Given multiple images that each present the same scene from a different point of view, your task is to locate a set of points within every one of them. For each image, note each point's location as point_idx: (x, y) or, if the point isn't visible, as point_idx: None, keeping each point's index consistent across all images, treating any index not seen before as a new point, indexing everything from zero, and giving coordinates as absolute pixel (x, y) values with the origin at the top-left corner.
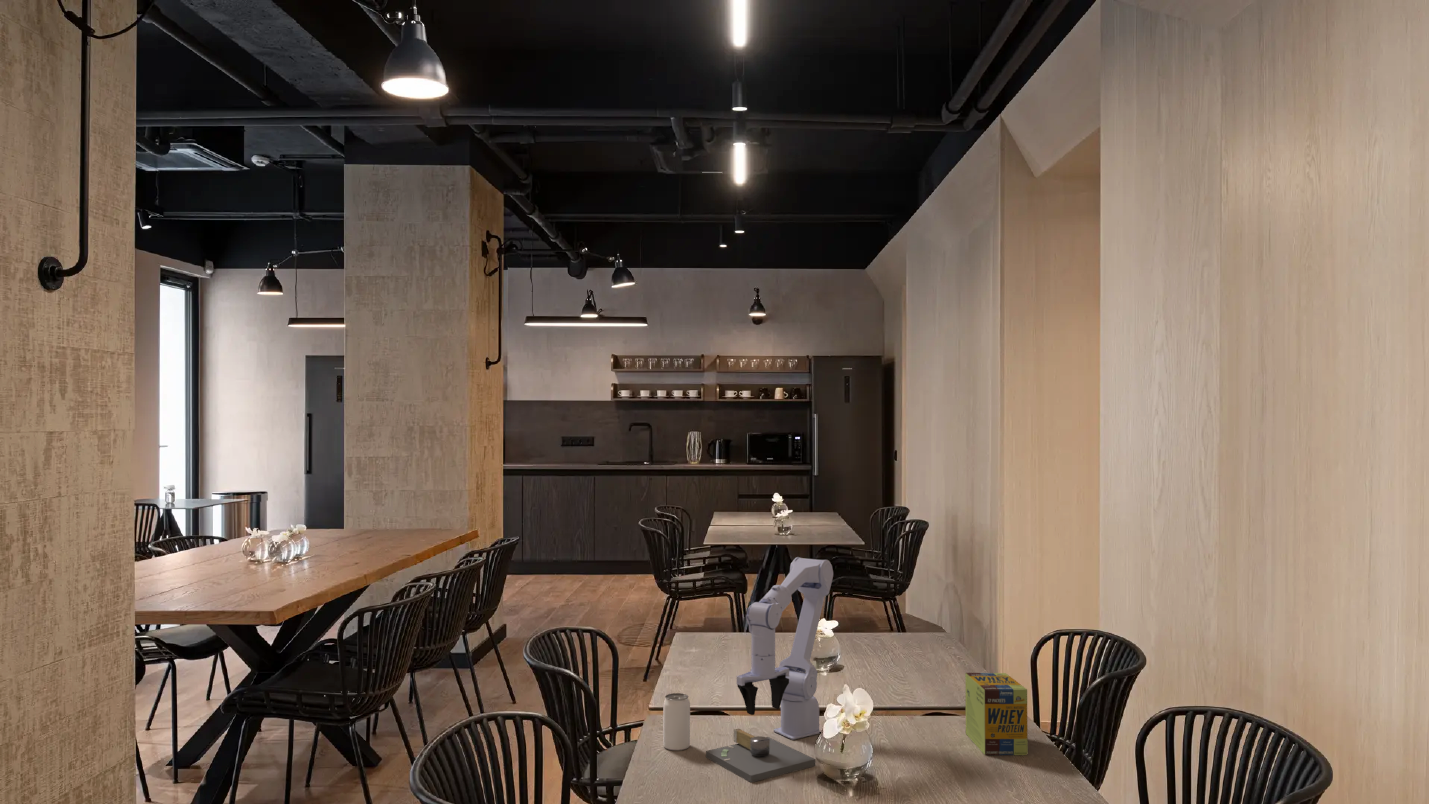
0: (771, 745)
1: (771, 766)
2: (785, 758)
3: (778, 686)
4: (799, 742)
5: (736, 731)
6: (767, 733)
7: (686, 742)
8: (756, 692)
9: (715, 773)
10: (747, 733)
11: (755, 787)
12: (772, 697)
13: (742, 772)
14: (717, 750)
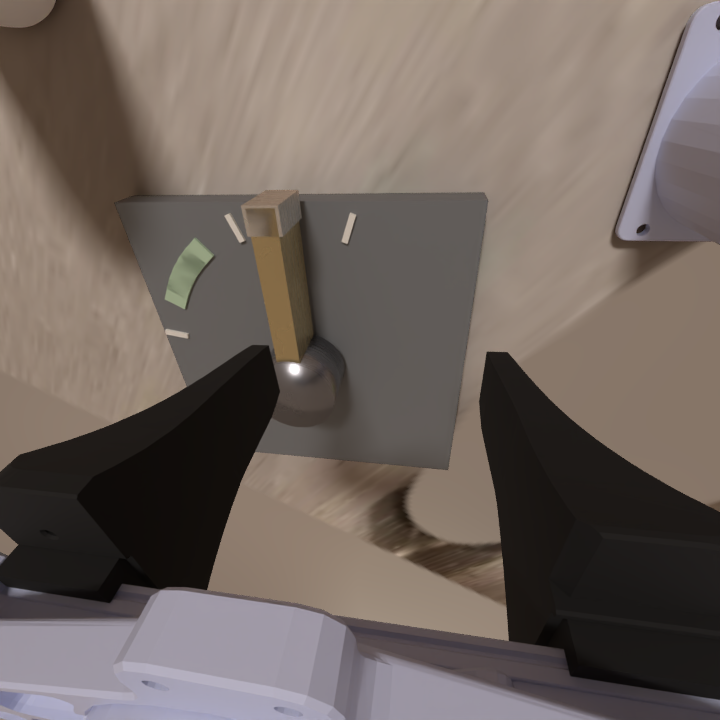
0: (413, 309)
1: (293, 439)
2: (370, 422)
3: (513, 570)
4: (613, 273)
5: (248, 234)
6: (627, 20)
7: (12, 18)
8: (211, 559)
9: (140, 340)
10: (285, 301)
11: None
12: (503, 399)
13: None
14: (166, 228)
